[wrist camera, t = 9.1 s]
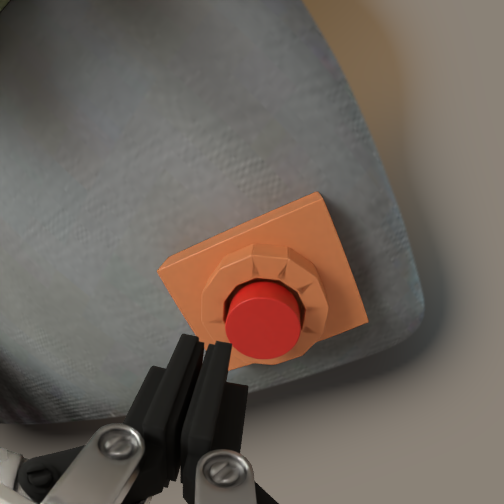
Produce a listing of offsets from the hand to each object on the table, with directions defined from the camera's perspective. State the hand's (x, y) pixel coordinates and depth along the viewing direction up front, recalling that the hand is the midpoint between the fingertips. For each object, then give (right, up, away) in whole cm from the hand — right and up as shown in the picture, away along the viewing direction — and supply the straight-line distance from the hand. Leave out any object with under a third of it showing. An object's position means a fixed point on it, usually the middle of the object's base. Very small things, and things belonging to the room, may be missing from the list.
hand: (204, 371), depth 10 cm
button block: (+2, +2, +10) cm, 10 cm away
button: (+2, +1, +6) cm, 7 cm away
